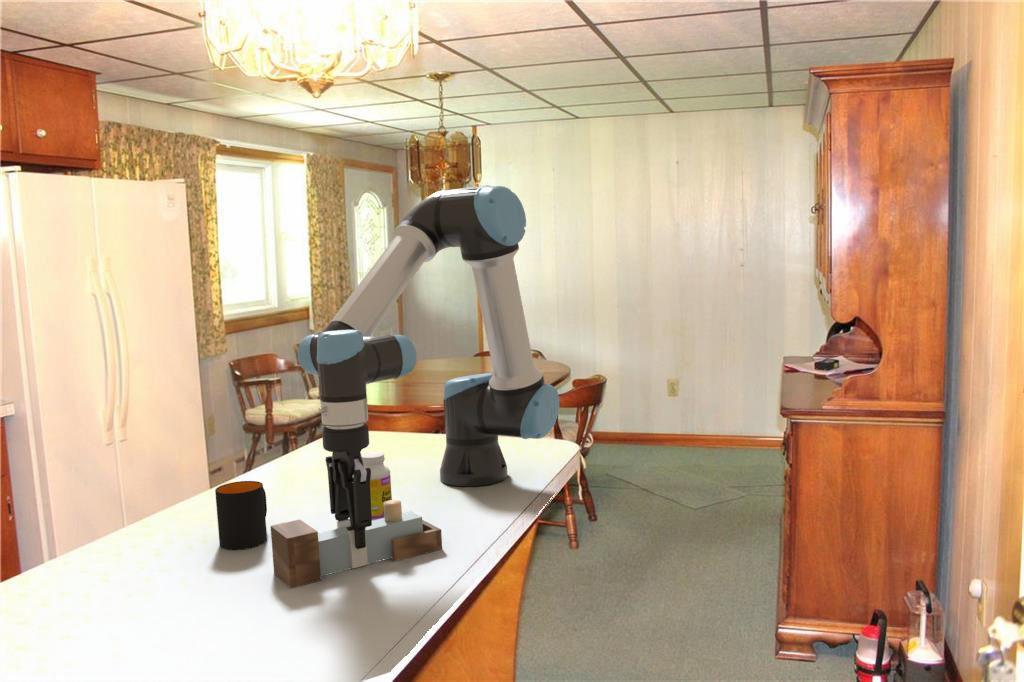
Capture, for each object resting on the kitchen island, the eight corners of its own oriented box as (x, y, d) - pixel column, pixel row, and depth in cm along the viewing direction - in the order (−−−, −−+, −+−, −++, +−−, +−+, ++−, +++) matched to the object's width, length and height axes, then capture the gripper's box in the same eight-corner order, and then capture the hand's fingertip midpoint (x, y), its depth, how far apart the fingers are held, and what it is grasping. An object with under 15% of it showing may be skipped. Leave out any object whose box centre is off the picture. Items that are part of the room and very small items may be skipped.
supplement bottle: (386, 525, 165) (382, 459, 164) (353, 524, 167) (348, 458, 165) (397, 514, 172) (393, 450, 170) (365, 513, 173) (361, 450, 172)
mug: (286, 529, 165) (282, 476, 164) (250, 551, 154) (245, 494, 153) (248, 527, 168) (244, 474, 167) (210, 548, 156) (205, 492, 155)
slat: (413, 544, 155) (410, 495, 154) (423, 550, 152) (421, 500, 151) (310, 570, 144) (307, 517, 143) (320, 577, 141) (316, 523, 140)
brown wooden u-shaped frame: (420, 537, 158) (419, 518, 158) (442, 549, 151) (441, 529, 151) (375, 548, 153) (373, 528, 153) (395, 561, 146) (393, 540, 146)
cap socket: (303, 565, 146) (300, 519, 145) (321, 580, 139) (317, 531, 138) (274, 573, 143) (270, 525, 142) (290, 588, 137) (287, 538, 136)
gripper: (304, 420, 149) (313, 553, 151) (344, 436, 135) (353, 582, 137) (345, 414, 153) (353, 543, 156) (388, 429, 139) (396, 571, 141)
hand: (353, 561), depth 146 cm, fingers open, 4 cm apart
